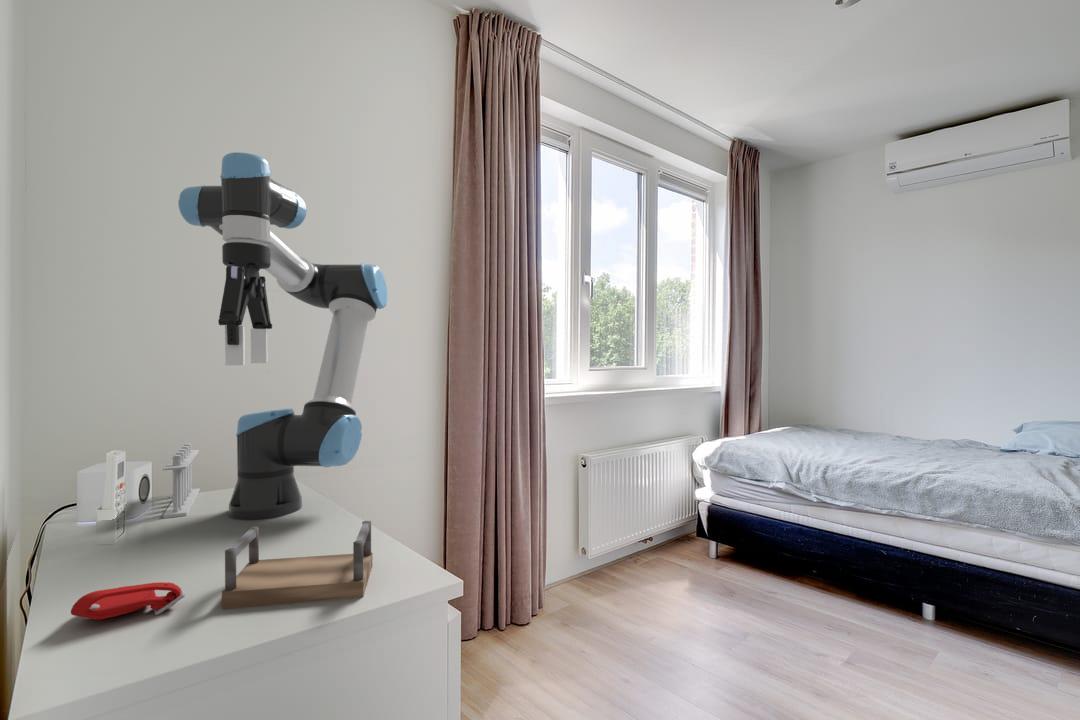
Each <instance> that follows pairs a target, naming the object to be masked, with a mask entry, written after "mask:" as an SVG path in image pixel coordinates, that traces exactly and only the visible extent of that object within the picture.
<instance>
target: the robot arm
mask: <svg viewBox="0 0 1080 720" xmlns="http://www.w3.org/2000/svg"><path fill="white" fill-rule="evenodd" d="M270 170H271V169H270V164H269V162H268V161H267V159H266V158H264V157H262V156H260V155H257V154H253V153H248V152H240V151H239V152H237V151H236V152H229V153H227V154H225V155H224V156H223V157H222V160H221V171H220V181H221V184H220V185H204V184H202V185H200V186H188V187H186V188H184V189H182V191H181V192H180V194H179V196H178V198H179V199H178V210H179V213H180V214H181V216H182V218H183V220H185V222H187V224H189V225H191V226H197V227H202V228H204V227H210V228H212V229H213V230H214V231H215V232H217V233H218V234H219V235H220V236H221V237H222V240H223V242H225V243H224V244H222V248H221V249H222V259H221V260H222V264H223V265H224V266H226V268H225V281H224V288H223V295H222V300H221V305H220V311H219V317H218V325H219V326H224V341H225V342H224V344H225V345H224V348H225V349H224V351H225V352H224V355H225V356H224V357H225V363H224V365H225V366H245V365H246V359H245V357H246V354H245V353H246V350H245V349H246V348H245V347H246V344H245V342H246V341H245V336H246V335H245V325H242V324H243V321H244V319H245V314H246V311H247V310H248V315H249V318H250V322H251V325H252V327H251V328H250V363H251V364H268V358H269V356H268V330H273V324H272V322H271V317H270V309H269V303H268V296H267V295H268V294H267V289H266V281H267V280H266V278H265V275H264V276H263V275H262V276H260V270H265V271H267V273H269V274H270V275H271V276H272V277H274V278H275V280H276V282H277V284H278V286H279V287H280V288H281V289H282V290H284V292H286V293H287V294H289V295H290V296H293V297H294V298H295V299H297V300H299V301H300V302H303V303H306V304H307V305H310V306H312V307H316V308H319V309H321V308H322V309H329V311H330V312H331V314H332V317H331V321H330V322H331V323H330V326H329V330H328V335H327V338H326V343H325V347H324V352H323V355H322V360H321V364H320V367H319V373H318V378H317V382H316V386H315V390H314V392H313V393H314V395H313V398H311V399H310V400H308V401H307V402H305V404H304V406H303V410H302V413H301V414H295V411H294V409H293V408H291V407H290V408H281V409H274V410H272V409H271V410H266V411H260V412H252V413H247V414H243V415H242V416H241V417H239V419H238V422H237V428H236V435H235V436H236V442H237V443H236V447H237V448H236V452H237V457H236V458H237V461H236V464H237V468H236V469H237V480H236V484H235V486H234V489H233V491H232V494H231V498H230V500H229V504H228V516H229V517H230V518H232V519H235V520H243V521H244V520H247V521H249V520H251V521H253V520H254V521H255V520H266V519H272V518H278V517H279V518H280V517H283V516H286V515H291V514H293V513H296V512H297V511H300V510H301V509H302V507H303V496H302V493H301V490H300V488H299V486H298V483H297V480H296V478H295V474H294V471H295V470H294V469H295V467H296V466H297V467H323V468H331V467H342V466H345V465H347V464H349V463H350V462H351V461H352V460H353V459H354V458H355V456H356V455H357V453H358V451H359V447H360V446H361V441H362V437H363V436H362V435H363V432H362V429H363V427H362V426H363V425H362V422H361V420H360V418H359V417H358V416H357V411H356V410H355V408H354V407H353V406H352V403H353V402H352V401H353V397H354V391H355V387H356V383H357V377H358V373H359V369H360V368H359V367H360V363H361V358H362V353H363V348H364V343H365V338H366V334H367V333H366V332H367V329H368V323H369V322H371V321H373V320H374V319H375V318H376V313H377V309H378V310H382V309H385V307H386V306H387V304H388V303H387V302H388V288H387V283H386V279H385V276H384V273H383V271H382V270H381V268H380V267H379V266H378V265H376V264H370V263H369V264H366V263H361V264H321V263H313V262H311V261H310V260H309V259H307V258H305V257H302V256H299V255H297V254H296V253H295V252H294V251H293V250H292V249H291V248H290V247H289V246H288V245H287V244H285V243H284V242H283V241H282V240H281V239H280V237H277V235H276V234H275V233H273V232H272V231H271V225H273V226H276V227H278V228H281V229H282V228H283V229H287V230H289V229H296V228H297V227H299V226H300V225H301V224H302V223H304V221H305V219H306V216H307V205H306V203H305V201H304V199H303V197H301V196H300V195H299V194H297V193H296V192H295V191H294V190H292V189H291V188H289V187H286V186H285V185H282V184H280V183H278V182H276V181H275V180H273V179H272V178H271V175H272V174H271V173H272V172H271V171H270Z"/></svg>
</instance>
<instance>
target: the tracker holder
mask: <svg viewBox="0 0 1080 720" xmlns="http://www.w3.org/2000/svg"><path fill="white" fill-rule="evenodd" d="M156 591H167V593H166V595H162V596H160V595H159V596H158V595H156ZM185 595H186V594H185V593H184V590H183V587H180V586H179V585H178V584H175V583H173V582H162V581H161V582H160V581H159V582H149V583H142V584H141V583H140V584H135V585H127V586H120V587H115V588H106V589H100V590H95V591H91V592H89V593H86V594H84V595H83V596H81V597H80V598H78V600H77V601H76V602H75V603H73V605H72V607H71V608H70V614H71V615H72V616H75V617H80V618H82V619H85V620H99V621H100V620H103V619H109V618H113V617H117V616H121V615H125V614H128V613H132V612H135V611H138V610H142V609H143V608H145V607H148V606H150V609H152V610H154V615H155V616H158V615H160V614H161V613H163V612H164V611H166V610H167V609H169V608H170V607H173V606H174V605H175V604H177V603H178V602H179V601H180V600H182V599H184V598H185Z"/></svg>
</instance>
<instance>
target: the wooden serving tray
mask: <svg viewBox="0 0 1080 720" xmlns="http://www.w3.org/2000/svg"><path fill="white" fill-rule="evenodd" d="M361 524H362V525H361V527H360V530H359V532H358V534H357V536H356V539H355V541H353V542H352V543H353V546H352V549H353V553H344V554H342V553H341V554H331V555H330V554H329V555H313V556H301V557H299V556H298V557H283V558H270V559H267V558H266V559H260V555H259V554H260V551H259V550H260V549H259V548H260V547H259V545H260V544H259V543H260V541H259V540H260V539H259V538H260V537H259V536H260V535H259V534H260V530H259V526H253V527H249V528H248V530H247V531H246V532H245V533H243V534H242V535H241V536H240V538H238V539H237V540H236V541H235V542H234V543H233V544H232V545H231V546H230V547H228V549H226V550H224V589H223V591H221V610H231V609H243V608H255V607H266V606H276V605H277V606H278V605H290V604H299V603H300V604H301V603H311V602H320V601H321V602H322V601H333V600H334V601H335V600H336V601H337V600H345V599H356V598H357V599H358V598H364V597H365V592H366V589H367V586H368V583H369V579H370V576H371V573H370V572H372V570H373V552H372V521H371V520H364V521H362V523H361ZM247 546H248V562H247V564H246V565H245V566H244V567H243V568H242V569H241V570H240V572H238V574H237V557H238V555H240V553H241V552H242V551H243V550H244V549H245V548H246V547H247Z"/></svg>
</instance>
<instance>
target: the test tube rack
mask: <svg viewBox="0 0 1080 720" xmlns="http://www.w3.org/2000/svg"><path fill="white" fill-rule="evenodd" d="M199 452H200V449H192V443H184V444H183V446H181V448H179V449H178V451H176V452H175V454H174V455H172V459H170V461H169V462H168V463H167V464H166V465H165V466H164V467H163V471H170V470H171V471H172V501H171V503H170V504H169V506H168V507H167V509H166V510H165V512H164V513H163V515H162V519H172V518H180V517H187V516H188V514H189V512H190V510H191V508H192V507H193V504H194V502H196V499H197V497H198V495H197V494H199V493H200V488H199V487H198V488H192V484H193V482H192V481H193V480H192V475H193V474H192V469H193V468H192V467H193V466H192V465H193V464H192V462H193V461H194V459H195V458H196V456H197V455H198V453H199Z"/></svg>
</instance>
